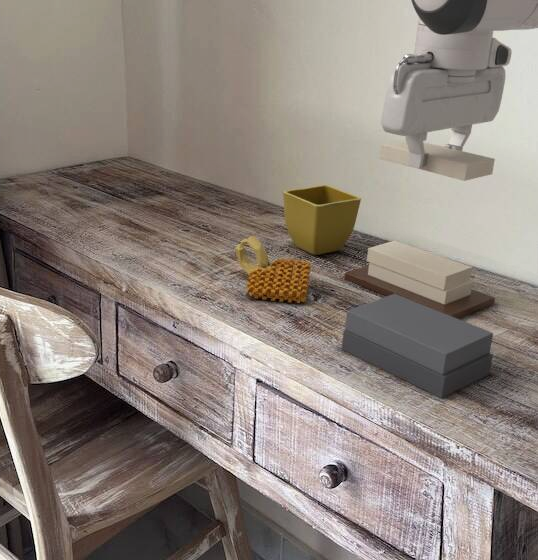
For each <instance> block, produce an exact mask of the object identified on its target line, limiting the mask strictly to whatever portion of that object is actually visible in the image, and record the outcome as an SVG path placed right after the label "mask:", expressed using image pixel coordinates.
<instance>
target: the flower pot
mask: <svg viewBox="0 0 538 560" xmlns="http://www.w3.org/2000/svg"><path fill="white" fill-rule="evenodd" d="M282 194H283V195H282V196H283V211H284V221H285V226H286V230H287V232H288V235H289V237H290V238H291V240H292V242H293V244H294V246H295V247H297V248H299V249H301V250H303V251H305V252H307V253H309V254H311V255H313V256H319V255H324V254H329V253H333V252H338V251H340V250H341V249H342V248H343V247H344V246H345V244H346V243H347V242H348V240H349V238H351V235H352V233H353V231H354V228H355V225H356V221H357V218H358V213H359V210H360V206H361V200H362V198H361V197H359V196H357V195H356V194H355V195H354V194H352V193H349V192H348V191H347V192H346V191H343V190H342V189H339V188H336V187H334V186H331V185H327V184H320V185H316V186H315V185H314V186H309V187H304V188H303V187H302V188H295V189H289V190H284V191H282Z"/></svg>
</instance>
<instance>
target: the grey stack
mask: <svg viewBox="0 0 538 560" xmlns="http://www.w3.org/2000/svg"><path fill="white" fill-rule="evenodd" d="M345 317H346V318H345V325H344V330H343V332H342V333H343V334H342V343H341V350H342V351H343V352H346V353H348V354H350V355H352V356H354V357H356V358H358V359H361V360H362V361H365V362H367V363H369V364H371V365H373V366H374V367H377V368H379V369H381V370H383V371H385V372H387V373H388V374H391V375H393V376H395V377H397V378H399V379H401V380H403V381H405V382H408V383H410V384H411V385H413V386H415V387H418V388H419V389H422V390H424V391H426V392H428V393H429V394H432V395H434V396H436V397H438V398H440V399H443V398H445V397H447V396H449V395H451V394H453V393H455V392H457V391H459V390H461V389H463V388H465V387H467V386H468V385H471V384H473V383H475V382H477V381H479V380H481V379H483V378H485V377H487V376H489V375H490V372H491V365H492V362H493V354H492V353H491V347H492V342H493V337H494V332H491V331H489V330H486V329H484V328H481V327H479V326H477V325H474V324H471V323H469V322H467V321H464V320H461V319H460V318H459V319H457V318H454V317H452V316H449V315H447V314H444V313H442V312H439V311H437V310H434V309H432V308H429V307H427V306H424V305H422V304H419V303H417V302H414V301H412V300H409V299H407V298H404V297H402V296H399V295H397V294H393V295H390V296H384V297H381V298H378V299H376V300H373V301H370V302H367V303H364V304H362V305H359V306H355V307H352V308H349V309H347V310H346V316H345Z"/></svg>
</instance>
